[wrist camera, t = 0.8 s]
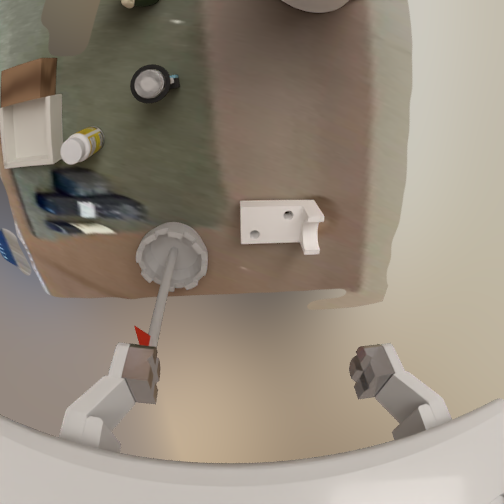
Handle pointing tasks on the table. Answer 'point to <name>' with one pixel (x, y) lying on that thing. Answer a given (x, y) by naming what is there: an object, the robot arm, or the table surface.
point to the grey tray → (32, 132)
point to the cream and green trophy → (137, 3)
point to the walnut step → (28, 81)
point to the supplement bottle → (82, 145)
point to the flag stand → (169, 267)
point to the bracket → (281, 223)
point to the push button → (152, 83)
